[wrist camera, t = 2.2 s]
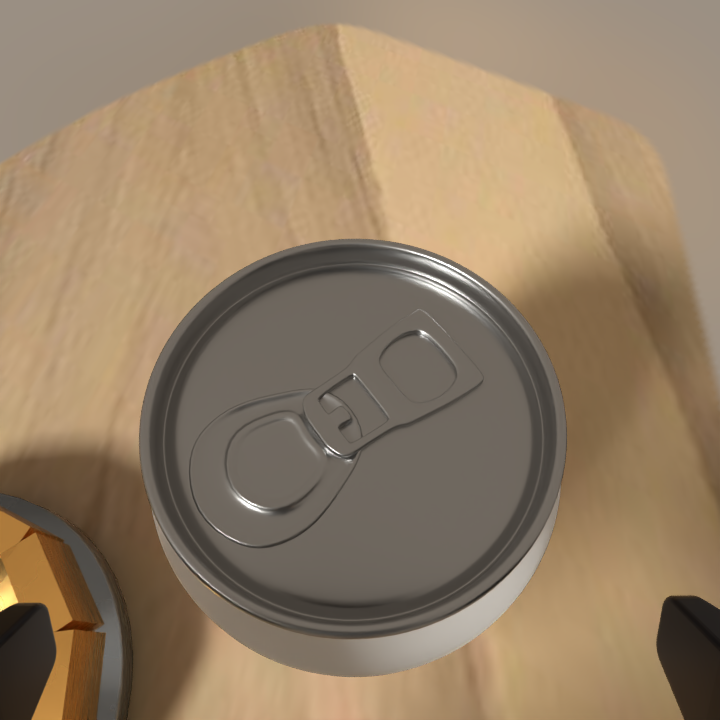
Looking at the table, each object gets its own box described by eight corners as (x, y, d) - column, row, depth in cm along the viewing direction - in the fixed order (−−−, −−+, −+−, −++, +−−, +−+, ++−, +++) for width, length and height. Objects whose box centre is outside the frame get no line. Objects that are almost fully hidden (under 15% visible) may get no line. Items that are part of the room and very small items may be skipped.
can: (223, 528, 18) (28, 352, 8) (382, 421, 20) (399, 158, 9) (333, 718, 16) (266, 842, 5) (504, 577, 18) (713, 456, 7)
